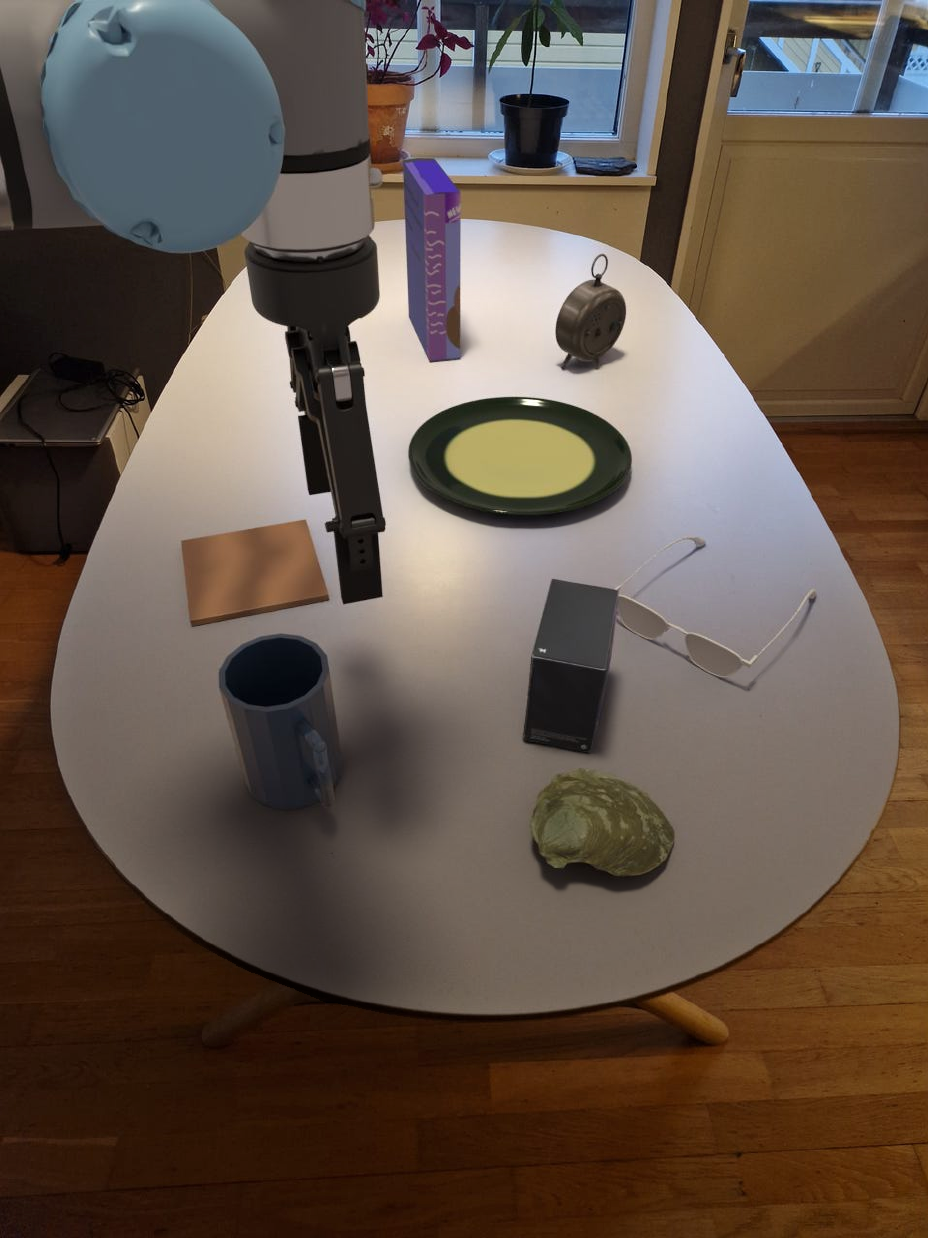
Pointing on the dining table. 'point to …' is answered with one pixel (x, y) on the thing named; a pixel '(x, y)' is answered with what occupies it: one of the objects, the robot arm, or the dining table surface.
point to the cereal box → (433, 257)
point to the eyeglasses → (698, 646)
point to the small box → (570, 665)
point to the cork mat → (251, 572)
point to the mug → (283, 720)
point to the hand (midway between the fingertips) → (342, 540)
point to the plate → (519, 455)
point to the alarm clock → (590, 319)
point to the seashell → (600, 824)
